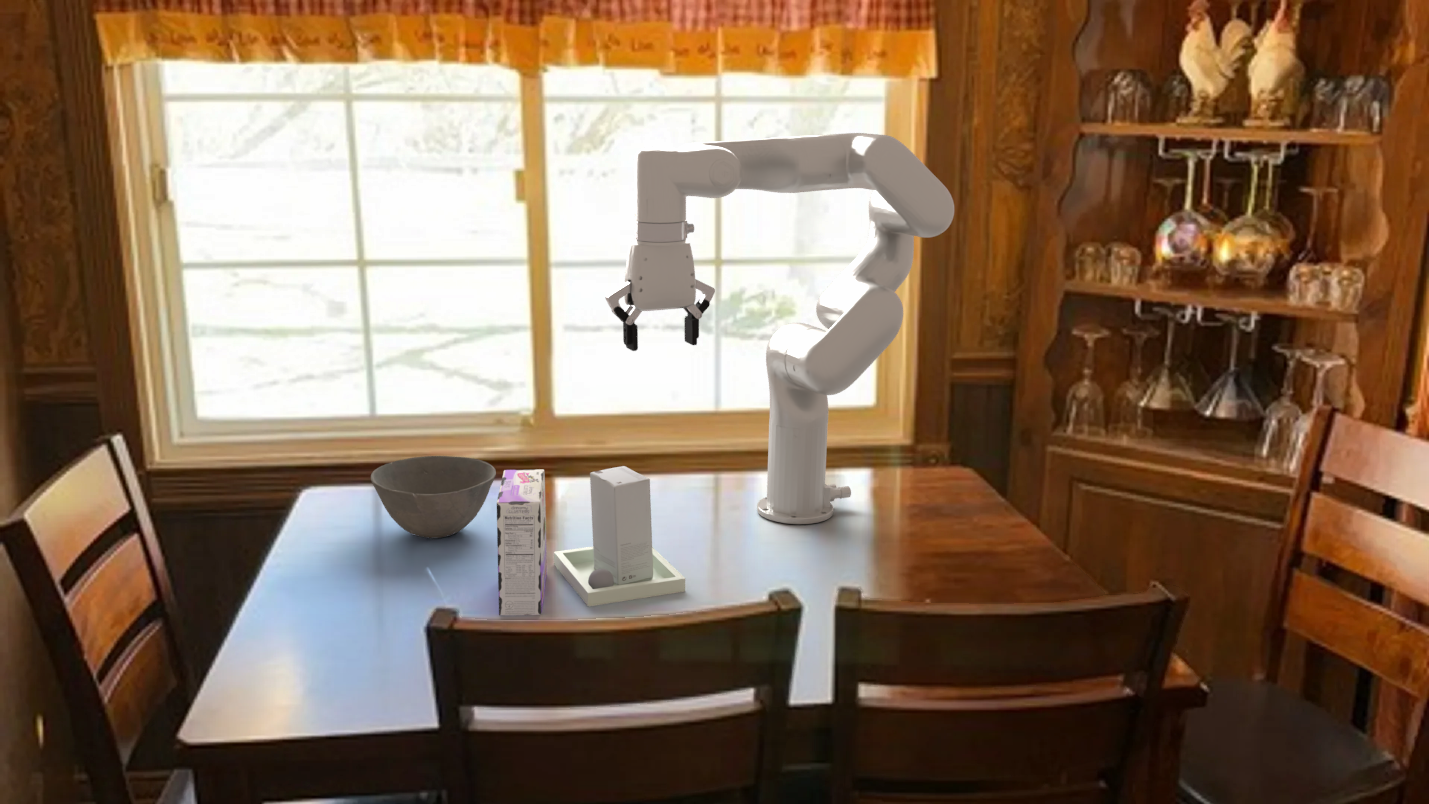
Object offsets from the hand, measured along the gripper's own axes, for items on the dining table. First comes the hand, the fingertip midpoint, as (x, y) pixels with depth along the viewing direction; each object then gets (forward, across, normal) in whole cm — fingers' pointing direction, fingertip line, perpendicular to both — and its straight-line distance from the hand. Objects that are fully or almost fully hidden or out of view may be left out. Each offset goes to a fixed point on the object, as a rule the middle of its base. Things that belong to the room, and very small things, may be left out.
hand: (661, 346), depth 186 cm
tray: (+30, +14, +16) cm, 36 cm away
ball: (+29, +18, +20) cm, 40 cm away
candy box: (+30, +28, +17) cm, 44 cm away
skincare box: (+29, +13, +15) cm, 35 cm away
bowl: (+30, +33, -12) cm, 46 cm away
